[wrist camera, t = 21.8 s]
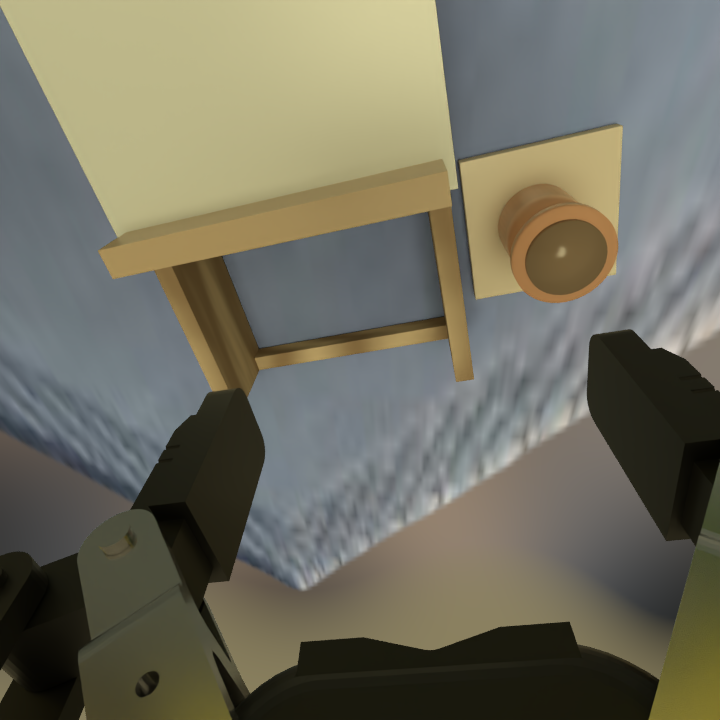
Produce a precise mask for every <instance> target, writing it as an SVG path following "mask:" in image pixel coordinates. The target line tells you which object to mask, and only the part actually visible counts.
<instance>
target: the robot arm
mask: <svg viewBox="0 0 720 720" xmlns="http://www.w3.org/2000/svg"><path fill="white" fill-rule="evenodd" d="M587 401H588V406H589V410H590V413H591V416H592V418H593V420H594V422H595V424H596V425H597V427H598V429H599V430H600V432H601V434H602V435H603V437H604V439H605V440H606V442H607V444H608V445H609V447H610V449H611V450H612V452H613V454H614V455H615V457H616V459H617V460H618V462H619V464H620V465H621V467H622V469H623V470H624V472H625V474H626V475H627V477H628V478H629V480H630V482H631V483H632V485H633V487H634V488H635V490H636V492H637V493H638V495H639V496H640V498H641V500H642V502H643V503H644V505H645V507H646V508H647V510H648V512H649V513H650V515H651V517H652V518H653V520H654V521H655V523H656V525H657V526H658V528H659V530H660V531H661V533H662V535H663V536H664V538H665V540H666V541H672V540H681V539H691V540H692V542H693V543H694V545H695V546H696V548H695V552H694V555H693V559H692V563H691V566H690V570H689V574H688V577H687V581H686V585H685V589H684V592H683V596H682V600H681V604H680V607H679V610H678V614H677V618H676V621H675V625H674V629H673V632H672V636H671V640H670V644H669V647H668V651H667V654H666V658H665V662H664V665H663V669H662V673H661V676H660V680H659V679H657V678H656V677H654V676H652V675H651V674H650V673H648V672H647V671H645V670H643V669H641V668H639V667H637V666H636V665H634V664H632V663H630V662H628V661H626V660H624V659H622V658H619V657H617V656H615V655H612V654H610V653H607V652H604V651H601V650H597V649H594V648H591V647H587V646H583V645H578V644H577V642H576V640H575V636H574V633H573V631H572V628H571V625H570V622H560V623H546V624H534V625H520V626H507V627H498V628H496V629H493V630H490V631H488V632H485V633H482V634H479V635H476V636H473V637H471V638H468V639H465V640H462V641H459V642H457V643H454V644H451V645H449V646H445V647H443V648H440V649H436V650H423V649H418V648H413V647H408V646H403V645H398V644H393V643H388V642H383V641H379V640H374V639H369V638H364V637H363V638H350V639H336V640H324V641H310V642H301V645H300V653H299V660H298V665H296V666H293V667H291V668H289V669H287V670H285V671H283V672H281V673H279V674H277V675H275V676H274V677H272V678H271V679H269V680H268V681H266V682H265V683H263V684H262V685H261V686H259V687H258V688H257V689H256V690H254V691H253V692H252V693H251V694H250V692H249V690H248V688H247V687H246V685H245V683H244V681H243V679H242V677H241V675H240V673H239V671H238V669H237V667H236V664H235V663H234V660H233V658H232V656H231V653H230V651H229V649H228V647H227V645H226V643H225V640H224V638H223V636H222V634H221V632H220V629H219V627H218V625H217V623H216V621H215V618H214V616H213V614H212V612H211V610H210V607H209V605H208V603H207V602H206V600H205V598H204V594H205V591H206V588H207V585H208V583H212V582H223V581H229V580H230V576H231V573H232V569H233V566H234V563H235V559H236V556H237V552H238V549H239V546H240V542H241V539H242V535H243V532H244V529H245V525H246V522H247V518H248V515H249V512H250V508H251V505H252V501H253V498H254V494H255V491H256V488H257V484H258V481H259V477H260V474H261V471H262V467H263V464H264V459H265V446H264V440H263V437H262V434H261V431H260V429H259V426H258V424H257V421H256V419H255V416H254V414H253V411H252V409H251V406H250V404H249V401H248V399H247V396H246V394H245V392H244V391H243V390H242V389H241V388H234V389H227V390H221V391H214V392H209V393H208V394H207V395H206V397H205V399H204V401H203V403H202V405H201V407H200V409H199V410H198V412H197V414H196V415H191V416H190V417H189V418H188V419H187V420H185V421H184V422H183V423H182V424H181V425H180V426H179V427H178V428H177V429H176V430H175V431H174V433H173V435H172V437H171V438H170V440H169V442H168V444H167V445H166V450H164V451H163V453H162V454H161V456H160V458H159V460H158V461H159V463H157V464H156V465H155V467H154V468H153V470H152V472H151V474H150V476H149V477H148V479H147V481H146V483H145V484H144V486H143V488H142V490H141V492H140V493H139V495H138V497H137V499H136V500H135V502H134V504H133V506H132V508H131V509H130V510H128V511H125V512H122V513H119V514H117V515H115V516H113V517H111V518H109V519H108V520H106V521H104V522H103V523H102V524H100V525H99V526H98V527H97V528H96V529H94V530H93V531H92V532H91V533H90V535H89V536H88V537H87V538H86V539H85V541H84V542H83V544H82V546H81V547H80V550H79V552H78V553H76V554H74V555H71V556H68V557H65V558H63V559H60V560H57V561H55V562H52V563H49V564H47V565H44V566H41V567H40V566H39V565H38V564H37V563H36V562H35V561H34V559H33V558H32V557H31V556H30V555H29V554H28V553H25V552H11V553H7V554H5V555H1V556H0V670H1V668H2V669H3V670H4V671H5V672H6V673H7V674H9V675H10V676H11V677H12V678H13V681H12V683H11V684H10V686H9V688H8V690H7V692H6V693H5V695H4V697H3V699H2V701H1V703H0V720H79V718H80V715H81V713H82V710H83V708H84V706H85V712H86V719H87V720H720V392H719V391H718V390H716V391H715V389H714V386H713V385H712V384H711V383H710V382H708V380H707V379H705V378H702V377H701V374H700V373H699V372H698V371H697V370H696V369H695V368H694V367H693V366H692V365H691V364H690V363H689V362H688V361H687V360H686V359H684V358H682V357H680V356H678V355H675V354H673V353H671V352H669V351H667V350H665V349H663V348H657V349H650V348H649V347H648V345H647V344H646V343H645V342H644V341H643V340H642V339H641V338H640V337H639V336H638V335H637V334H636V333H635V332H634V331H633V330H630V329H628V330H621V331H615V332H608V333H602V334H595V335H593V336H592V337H591V339H590V343H589V360H588V380H587Z"/></svg>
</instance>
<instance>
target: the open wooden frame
mask: <svg viewBox="0 0 720 720" xmlns="http://www.w3.org/2000/svg"><path fill="white" fill-rule="evenodd" d="M428 214H429V221H430V227H431V233H432V240H433V246H434V252H435V259H436V265H437V271H438V277H439V284H440V290H441V296H442V303H443V309H444V315H445V316H444V317H438V318H433V319H427V320H421V321H415V322H410V323H404V324H398V325H393V326H387V327H381V328H376V329H370V330H364V331H358V332H353V333H347V334H341V335H336V336H330V337H324V338H318V339H313V340H307V341H301V342H296V343H290V344H284V345H279V346H273V347H267V348H261V349H259V348H258V346H257V343H256V341H255V338H254V336H253V333H252V331H251V328H250V325H249V323H248V320H247V318H246V315H245V313H244V310H243V308H242V305H241V303H240V300H239V298H238V295H237V293H236V290H235V288H234V285H233V283H232V280H231V278H230V275H229V273H228V270H227V268H226V265H225V263H224V260H223V258H222V256H218V257H213V258H209V259H204V260H199V261H195V262H190V263H185V264H181V265H176V266H171V267H167V268H162V269H157V270H154V271H155V273H156V275H157V277H158V279H159V281H160V283H161V285H162V288H163V290H164V292H165V294H166V296H167V298H168V300H169V302H170V304H171V306H172V308H173V310H174V312H175V314H176V316H177V319H178V321H179V323H180V325H181V327H182V329H183V331H184V333H185V335H186V337H187V339H188V341H189V343H190V345H191V347H192V350H193V352H194V354H195V356H196V358H197V360H198V362H199V364H200V366H201V368H202V370H203V372H204V374H205V376H206V378H207V381H208V383H209V385H210V387H211V389H212V391H213V392H214V391H221V390H227V389H234V388H241V389H242V390H243V391H244V392H245V394H246V396H247V397H248V395H249V392H250V390H251V388H252V386H253V383H254V381H255V379H256V376H257V374H258V372H259V370H262V369H268V368H274V367H280V366H286V365H292V364H298V363H304V362H310V361H316V360H322V359H328V358H334V357H340V356H346V355H352V354H358V353H364V352H370V351H376V350H382V349H388V348H394V347H400V346H406V345H412V344H418V343H424V342H430V341H436V340H442V339H449V345H450V350H451V356H452V361H453V367H454V372H455V378H456V382H459V381H466V380H472V379H474V375H473V368H472V360H471V353H470V345H469V338H468V330H467V323H466V315H465V308H464V300H463V293H462V285H461V278H460V270H459V262H458V255H457V247H456V240H455V232H454V225H453V217H452V210H451V206H450V207H446V208H441V209H436V210H432V211H428Z"/></svg>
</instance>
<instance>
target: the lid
mask: <svg viewBox="0 0 720 720" xmlns="http://www.w3.org/2000/svg"><path fill="white" fill-rule="evenodd" d="M0 6H1V8H2V10H3V12H4V14H5V16H6V18H7V20H8V22H9V24H10V26H11V28H12V30H13V32H14V34H15V36H16V38H17V40H18V42H19V44H20V46H21V48H22V50H23V52H24V54H25V56H26V58H27V60H28V62H29V64H30V66H31V68H32V70H33V72H34V74H35V75H36V77H37V79H38V81H39V83H40V85H41V87H42V89H43V91H44V93H45V95H46V97H47V99H48V101H49V103H50V105H51V107H52V109H53V111H54V113H55V115H56V117H57V119H58V121H59V123H60V125H61V127H62V129H63V131H64V133H65V135H66V137H67V139H68V141H69V143H70V145H71V147H72V148H73V150H74V152H75V154H76V156H77V158H78V160H79V162H80V164H81V166H82V168H83V170H84V172H85V174H86V176H87V178H88V180H89V182H90V184H91V186H92V188H93V190H94V192H95V194H96V196H97V198H98V200H99V202H100V204H101V206H102V208H103V210H104V212H105V214H106V216H107V218H108V220H109V222H110V223H111V225H112V227H113V229H114V231H115V233H116V235H117V237H118V238H116V239H115V240H113V241H112V242H110V243H109V244H107V245H106V246H104V247H103V248H101V249H100V250H98V252H99V254H100V256H101V258H102V259H103V261H104V263H105V265H106V267H107V269H108V271H109V272H110V274H111V276H112V278H113V279H116V278H120V277H125V276H129V275H134V274H139V273H143V272H148V271H153V270H157V269H162V268H167V267H171V266H176V265H181V264H185V263H190V262H195V261H199V260H204V259H209V258H213V257H218V256H222V255H227V254H232V253H236V252H241V251H246V250H250V249H255V248H260V247H264V246H269V245H274V244H278V243H283V242H288V241H292V240H297V239H302V238H306V237H311V236H316V235H320V234H325V233H329V232H334V231H339V230H343V229H348V228H353V227H357V226H362V225H367V224H371V223H376V222H381V221H385V220H390V219H395V218H399V217H404V216H409V215H413V214H418V213H422V212H427V211H432V210H436V209H441V208H446V207H450V206H452V202H451V194H450V190H453V189H457V188H458V183H457V175H456V167H455V159H454V151H453V143H452V134H451V126H450V118H449V110H448V102H447V94H446V86H445V77H444V69H443V61H442V53H441V45H440V37H439V29H438V21H437V12H436V4H435V0H0Z"/></svg>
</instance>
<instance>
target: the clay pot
mask: <svg viewBox="0 0 720 720" xmlns="http://www.w3.org/2000/svg"><path fill="white" fill-rule="evenodd" d="M498 234H499V238H500V240H501V243H502V244H503V246H504V248H505V250H506V252H507V254H508V255H509V257H510V265H511V270H512V273H513V275H514V277H515V279H516V281H517V283H518V285H519V286H520V287H521V289H522V290H523V291H524V292H525V293H527V294H528V295H529V296H531V297H533V298H535V299H537V300H540V301H544V302H550V303H560V302H567V301H571V300H574V299H577V298H580V297H582V296H584V295H586V294H587V293H589V292H591V291H592V290H593V289H595V288H596V287H597V286H598V285H599V284H600V283H601V282H602V281H603V280H604V279H605V278H606V277H607V275H608V274H609V272H610V271H611V269H612V267H613V265H614V263H615V260H616V257H617V252H618V238H617V234H616V231H615V228H614V227H613V225H612V223H611V222H610V221H609V219H608V218H607V217H605V216H604V215H603V214H602V213H601V212H599V211H598V210H596V209H595V208H593V207H591V206H589V205H586V204H582V203H579V202H578V201H576V200H575V199H574V198H573V197H572V196H570V195H569V194H568V193H567V192H566V191H564V190H563V189H561V188H560V187H557V186H555V185H551V184H536V185H532V186H529V187H526V188H524V189H522V190H520V191H519V192H517V193H516V194H515V195H514V196H513V197H511V198H510V200H509V201H508V202H507V203H506V205H505V206H504V208H503V210H502V212H501V214H500V217H499V221H498Z"/></svg>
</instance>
